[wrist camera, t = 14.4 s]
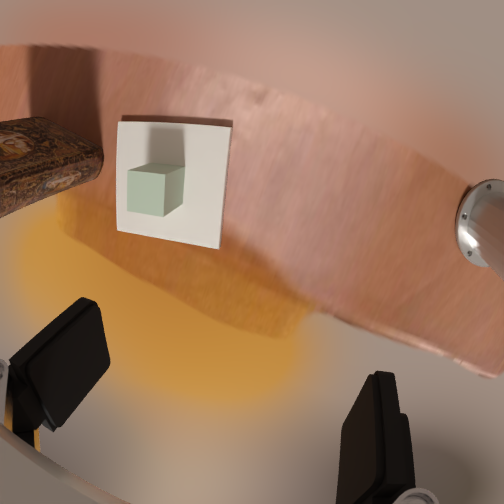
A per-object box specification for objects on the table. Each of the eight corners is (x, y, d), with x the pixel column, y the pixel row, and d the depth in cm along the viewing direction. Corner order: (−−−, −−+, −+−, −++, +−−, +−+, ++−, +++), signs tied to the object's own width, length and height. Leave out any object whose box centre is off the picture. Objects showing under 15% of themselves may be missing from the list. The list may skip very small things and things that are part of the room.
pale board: (232, 127, 37) (230, 127, 36) (220, 246, 43) (218, 249, 42) (122, 121, 39) (118, 121, 38) (120, 228, 45) (117, 230, 44)
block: (185, 166, 39) (165, 174, 33) (182, 203, 41) (163, 217, 35) (150, 162, 39) (127, 170, 34) (149, 198, 41) (126, 211, 36)
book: (107, 150, 41) (-38, 195, 18) (97, 183, 43) (-37, 245, 20) (40, 116, 40) (-85, 142, 18) (33, 145, 42) (-87, 182, 20)
